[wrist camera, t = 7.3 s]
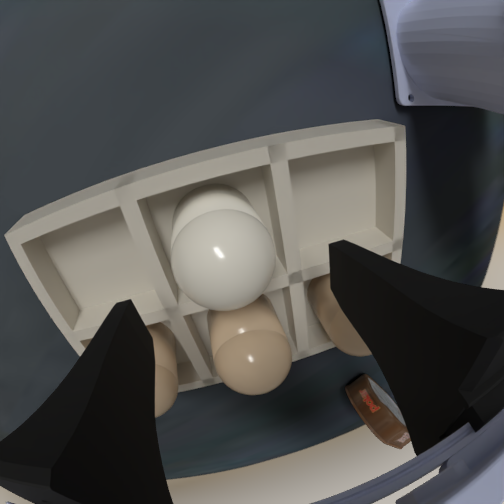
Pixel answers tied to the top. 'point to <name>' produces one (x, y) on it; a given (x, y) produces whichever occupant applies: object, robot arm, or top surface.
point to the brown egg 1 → (164, 367)
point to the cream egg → (220, 248)
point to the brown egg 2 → (334, 318)
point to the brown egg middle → (249, 347)
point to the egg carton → (266, 206)
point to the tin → (378, 411)
